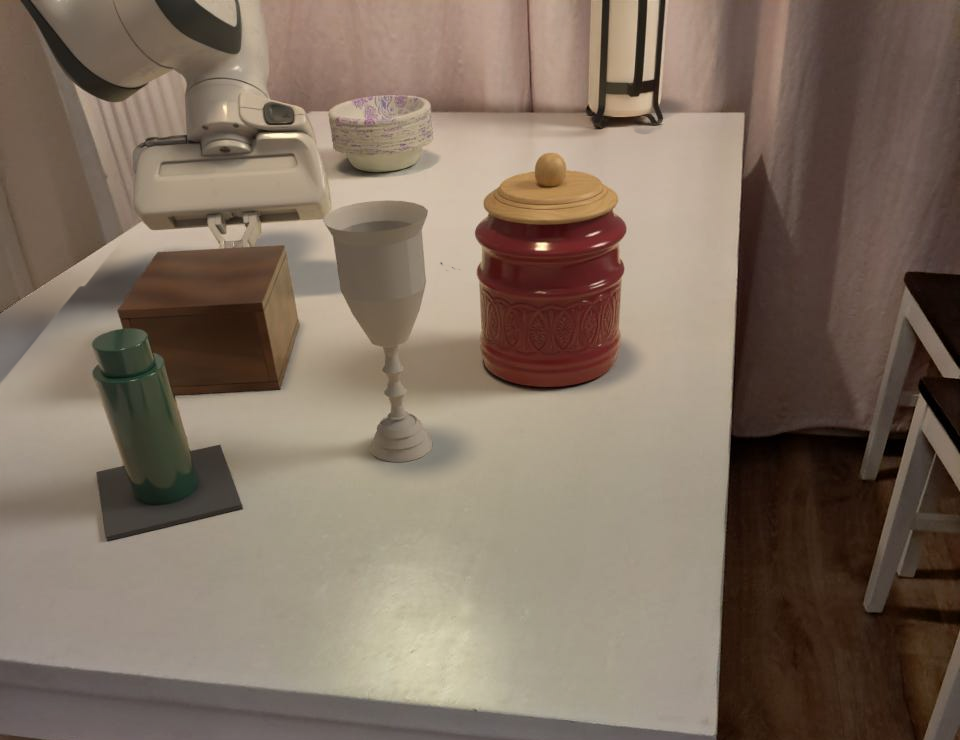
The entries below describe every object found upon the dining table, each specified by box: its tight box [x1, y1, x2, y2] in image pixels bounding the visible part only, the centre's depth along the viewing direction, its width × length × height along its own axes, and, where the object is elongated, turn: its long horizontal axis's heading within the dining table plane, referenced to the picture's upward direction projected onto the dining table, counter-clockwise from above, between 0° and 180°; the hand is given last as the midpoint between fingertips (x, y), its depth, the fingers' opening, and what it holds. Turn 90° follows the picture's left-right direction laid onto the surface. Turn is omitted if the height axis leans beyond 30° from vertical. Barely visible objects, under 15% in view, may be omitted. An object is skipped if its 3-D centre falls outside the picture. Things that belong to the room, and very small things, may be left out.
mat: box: [95, 444, 243, 542], centre depth 72 cm, size 10×10×1 cm
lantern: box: [585, 0, 670, 129], centre depth 144 cm, size 17×16×30 cm
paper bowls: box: [327, 94, 434, 173], centre depth 138 cm, size 15×15×8 cm
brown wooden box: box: [116, 244, 300, 396], centre depth 87 cm, size 15×13×8 cm
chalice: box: [322, 200, 433, 463], centre depth 70 cm, size 7×7×18 cm
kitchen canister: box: [474, 152, 628, 388], centre depth 81 cm, size 13×13×18 cm
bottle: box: [91, 328, 199, 505], centre depth 68 cm, size 5×5×12 cm
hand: (236, 261), depth 96 cm, fingers closed, pressing on drawer
